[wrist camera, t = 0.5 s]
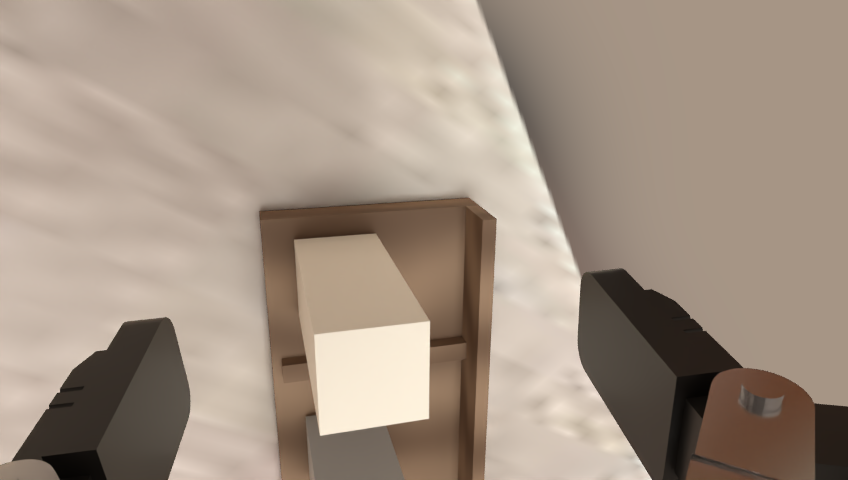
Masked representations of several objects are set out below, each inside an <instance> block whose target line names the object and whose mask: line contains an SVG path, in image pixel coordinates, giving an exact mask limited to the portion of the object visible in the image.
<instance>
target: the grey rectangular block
mask: <svg viewBox="0 0 848 480" xmlns="http://www.w3.org/2000/svg"><path fill="white" fill-rule="evenodd" d="M306 431H307V446H308V461H309V476H310V480H405V479H404V476H403V473H402V470H401V468H400V465H399V462H398V459H397V456H396V453H395V450H394V447H393V444H392V441H391V438H390V436H389V433H388V430H387V427H386V426H379V427H373V428H367V429H360V430H354V431H347V432H341V433H335V434H328V435H322V436H320V433H319V428H318V422H317V416H316V415H313V416H306Z"/></svg>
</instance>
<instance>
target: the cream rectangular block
mask: <svg viewBox="0 0 848 480" xmlns="http://www.w3.org/2000/svg"><path fill="white" fill-rule="evenodd" d="M294 247H295V263H296V278H297V293H298V308H299V318H300V324H301V330H302V335H303V341H304V347H305V353H306V359H307V364H308V370H309V376H310V382H311V387H312V393H313V399H314V405H315V410H316V416H317V422H318V428H319V433H320V436H322V435H328V434H335V433H341V432H347V431H354V430H360V429H367V428H373V427H379V426H386V425H392V424H399V423H405V422H411V421H418V420H424V419H429V367H430V320H429V319H428V317H427V315H426V314H425V312H424V311H423V309H422V307H421V306H420V304H419V302H418V301H417V299H416V298H415V296H414V294H413V293H412V291H411V290H410V288H409V286H408V285H407V283H406V281H405V280H404V278H403V277H402V275H401V273H400V272H399V270H398V268H397V267H396V265H395V264H394V262H393V260H392V259H391V257H390V255H389V254H388V252H387V251H386V249H385V247H384V246H383V244H382V242H381V241H380V239H379V238H378V236H377V234H376V233H374V234H361V235H348V236H335V237H322V238H309V239H296V240H294Z"/></svg>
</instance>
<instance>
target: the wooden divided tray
mask: <svg viewBox="0 0 848 480" xmlns="http://www.w3.org/2000/svg"><path fill="white" fill-rule="evenodd" d="M496 220H497V219H496V218H495V217H493V216H492V215H491V214H489V213H488V212H487V211H486V210H484V209H483V208H482V207H480V206H479V205H478V204H476V203H475V202H474V201H473V200H471V199H470V198H461V199H446V200H430V201H415V202H399V203H384V204H368V205H353V206H337V207H322V208H306V209H291V210H276V211H260V226H261V238H262V250H263V262H264V274H265V286H266V298H267V310H268V321H269V333H270V345H271V357H272V369H273V381H274V393H275V405H276V417H277V429H278V441H279V453H280V465H281V477H282V480H310V476H309V461H308V446H307V431H306V416H313V415H316V410H315V405H314V399H313V393H312V387H311V382H310V376H309V370H308V364H307V359H306V353H305V347H304V341H303V335H302V330H301V324H300V318H299V308H298V293H297V278H296V263H295V247H294V240H296V239H309V238H322V237H335V236H348V235H361V234H374V233H376V234H377V236H378V238H379V239H380V241H381V242H382V244H383V246H384V247H385V249H386V251H387V252H388V254H389V255H390V257H391V259H392V260H393V262H394V264H395V265H396V267H397V268H398V270H399V272H400V273H401V275H402V277H403V278H404V280H405V281H406V283H407V285H408V286H409V288H410V290H411V291H412V293H413V294H414V296H415V298H416V299H417V301H418V302H419V304H420V306H421V307H422V309H423V311H424V312H425V314H426V315H427V317H428V319H429V320H430V367H429V419H424V420H418V421H411V422H405V423H399V424H392V425H386V427H387V430H388V433H389V436H390V438H391V441H392V444H393V447H394V450H395V453H396V456H397V459H398V462H399V465H400V468H401V470H402V473H403V476H404V479H405V480H484V471H485V450H486V429H487V409H488V388H489V367H490V346H491V325H492V304H493V283H494V262H495V241H496Z"/></svg>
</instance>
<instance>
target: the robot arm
mask: <svg viewBox="0 0 848 480" xmlns="http://www.w3.org/2000/svg"><path fill="white" fill-rule="evenodd" d="M578 350H579V356H580V360H581V363H582V366H583V368H584V370H585V372H586V373H587V375H588V377H589V378H590V380H591V381H592V383H593V385H594V386H595V388H596V390H597V391H598V393H599V394H600V396H601V398H602V399H603V401H604V403H605V404H606V406H607V407H608V409H609V411H610V412H611V414H612V415H613V417H614V419H615V420H616V422H617V424H618V425H619V427H620V428H621V430H622V432H623V433H624V435H625V436H626V438H627V440H628V441H629V443H630V445H631V446H632V448H633V449H634V451H635V453H636V454H637V456H638V457H639V459H640V461H641V462H642V464H643V466H644V467H645V469H646V470H647V472H648V474H649V475H650V477H651V478H652V480H848V407H846V406H834V405H823V404H815V403H814V402H813V400H812V398H811V397H810V396H809V395H808V393H807V392H806V391H805V390H804V389H803V388H801V387H800V386H799V385H797V384H796V383H794V382H792V381H791V380H789V379H787V378H785V377H782V376H780V375H777V374H774V373H771V372H768V371H764V370H758V369H751V368H743V367H742V366H741V365H740V364H739V363H738V362H737V361H736V360H735V359H734V358H733V357H732V356H731V355H730V354H729V353H728V352H727V351H726V350H725V349H724V348H723V347H722V346H721V345H719V344H718V343H717V342H716V341H715V340H714V339H713V338H712V337H711V336H710V335H709V334H708V333H707V332H706V331H703V329H702V327H701V326H700V325H699V324H698V323H697V322H696V321H695V320H694V319H690V315H689V314H688V313H687V312H686V311H685V310H684V309H683V308H682V307H681V306H680V305H679V304H677V303H676V302H675V301H674V300H672V299H670V298H668V297H666V296H664V295H662V294H660V293H658V292H656V291H654V290H652V289H651V290H644V289H643V288H642V287H641V286H640V285H639V284H638V283H637V282H636V281H635V280H634V279H633V278H632V277H631V276H630V275H629V274H628V273H627V271H625V270H624V269H611V270H602V271H593V272H586V273H584V275H583V277H582V279H581V288H580V306H579V324H578ZM189 413H190V390H189V384H188V380H187V376H186V372H185V368H184V365H183V361H182V357H181V353H180V349H179V345H178V341H177V337H176V334H175V330H174V327H173V324H172V322H171V320H170V319H169V318H167V317H165V318H156V319H147V320H138V321H128V322H125V323H123V325H122V326H121V328H120V329H119V331H118V332H117V334H116V336H115V337H114V339H113V341H112V342H111V344H110V345H109V347H108V349H107V350H104V351H96V352H95V353H93V354H92V355H91V356H90V357H88V358H87V359H86V360H85V361H83V362H82V363H81V364H79V365H78V366H77V367H76V368H74V369H73V370H72V372H71V373H70V375H69V376H68V378H67V379H66V381H65V382H64V384H63V385H62V387H61V388H60V393H57V394H56V396H55V397H54V399H53V400H52V402H51V403H50V405H49V409H47V410H46V411H45V412H44V414H43V415H42V417H41V418H40V420H39V421H38V423H37V424H36V426H35V427H34V429H33V430H32V432H31V433H30V435H29V436H28V437H27V439H26V440H25V442H24V443H23V445H22V446H21V448H20V449H19V451H18V452H17V454H16V455H15V457H14V458H13V460H12V461H11V462H9V463H5V464H2V465H0V480H168V478H169V475H170V472H171V469H172V466H173V463H174V460H175V457H176V454H177V451H178V448H179V445H180V442H181V439H182V436H183V433H184V430H185V427H186V424H187V421H188V418H189Z"/></svg>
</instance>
